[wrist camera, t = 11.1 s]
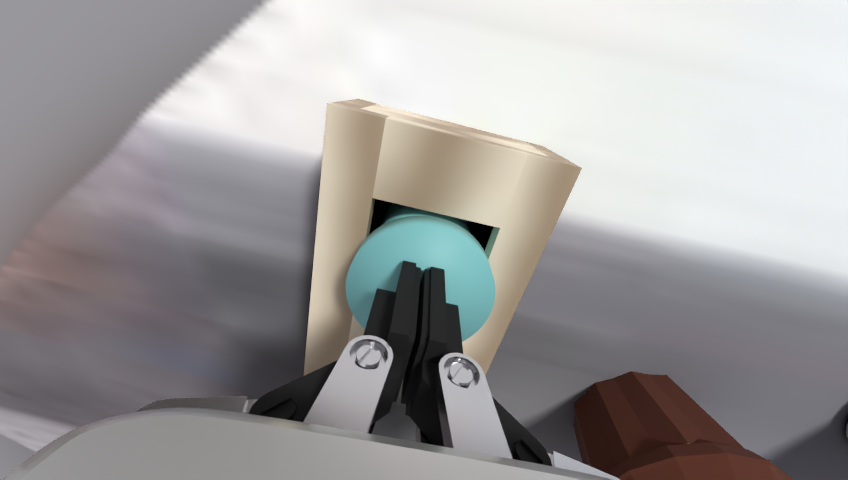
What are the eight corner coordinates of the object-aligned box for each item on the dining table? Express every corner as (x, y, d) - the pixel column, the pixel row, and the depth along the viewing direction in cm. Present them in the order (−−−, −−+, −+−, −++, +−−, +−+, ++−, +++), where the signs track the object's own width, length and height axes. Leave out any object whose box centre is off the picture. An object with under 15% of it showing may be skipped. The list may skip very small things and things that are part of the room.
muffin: (555, 454, 29) (609, 622, 20) (551, 370, 24) (620, 540, 15) (695, 443, 27) (823, 620, 18) (720, 351, 22) (909, 527, 13)
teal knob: (491, 195, 17) (518, 248, 11) (460, 284, 19) (469, 362, 14) (383, 169, 16) (355, 210, 11) (366, 263, 19) (337, 335, 14)
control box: (542, 146, 17) (582, 168, 12) (414, 470, 31) (410, 536, 26) (352, 97, 16) (318, 101, 11) (310, 452, 30) (287, 516, 25)
